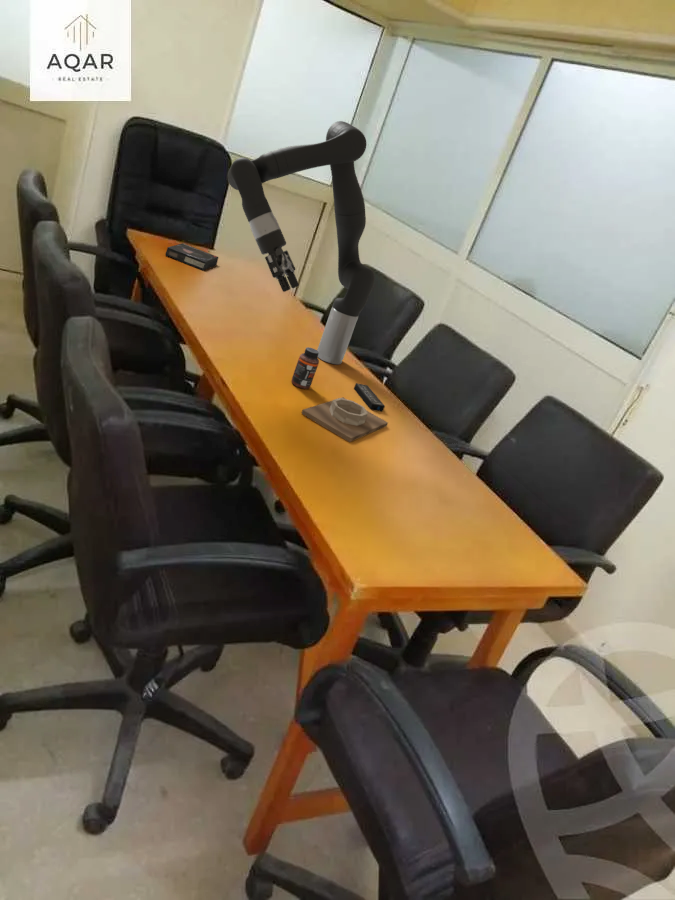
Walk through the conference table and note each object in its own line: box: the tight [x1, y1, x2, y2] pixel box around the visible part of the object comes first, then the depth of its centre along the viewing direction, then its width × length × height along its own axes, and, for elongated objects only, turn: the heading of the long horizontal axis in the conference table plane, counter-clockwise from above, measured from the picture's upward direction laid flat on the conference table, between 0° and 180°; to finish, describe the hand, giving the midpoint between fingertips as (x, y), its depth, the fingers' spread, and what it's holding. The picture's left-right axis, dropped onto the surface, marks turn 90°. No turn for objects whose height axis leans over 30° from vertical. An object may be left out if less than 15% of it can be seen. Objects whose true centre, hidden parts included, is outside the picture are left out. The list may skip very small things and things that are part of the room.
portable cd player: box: [164, 242, 219, 271], centre depth 284 cm, size 16×17×4 cm
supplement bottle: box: [291, 347, 320, 390], centre depth 199 cm, size 6×6×11 cm
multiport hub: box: [353, 382, 386, 413], centre depth 210 cm, size 4×14×2 cm, turn 21°
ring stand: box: [301, 396, 389, 443], centre depth 189 cm, size 22×16×4 cm
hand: (291, 288), depth 192 cm, fingers open, 8 cm apart
